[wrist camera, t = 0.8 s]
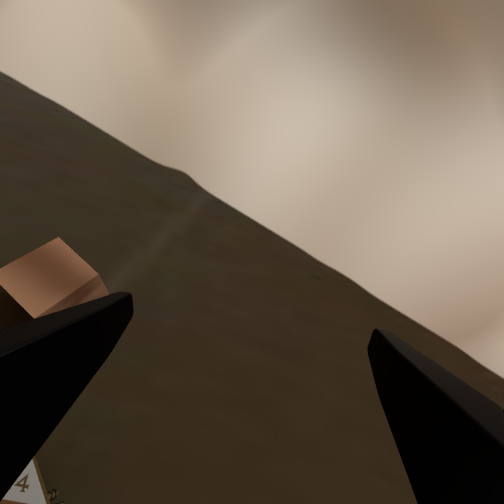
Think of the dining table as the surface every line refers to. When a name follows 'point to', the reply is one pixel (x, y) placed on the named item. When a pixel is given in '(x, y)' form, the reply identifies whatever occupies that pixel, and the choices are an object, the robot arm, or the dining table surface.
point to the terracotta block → (51, 280)
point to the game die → (29, 488)
